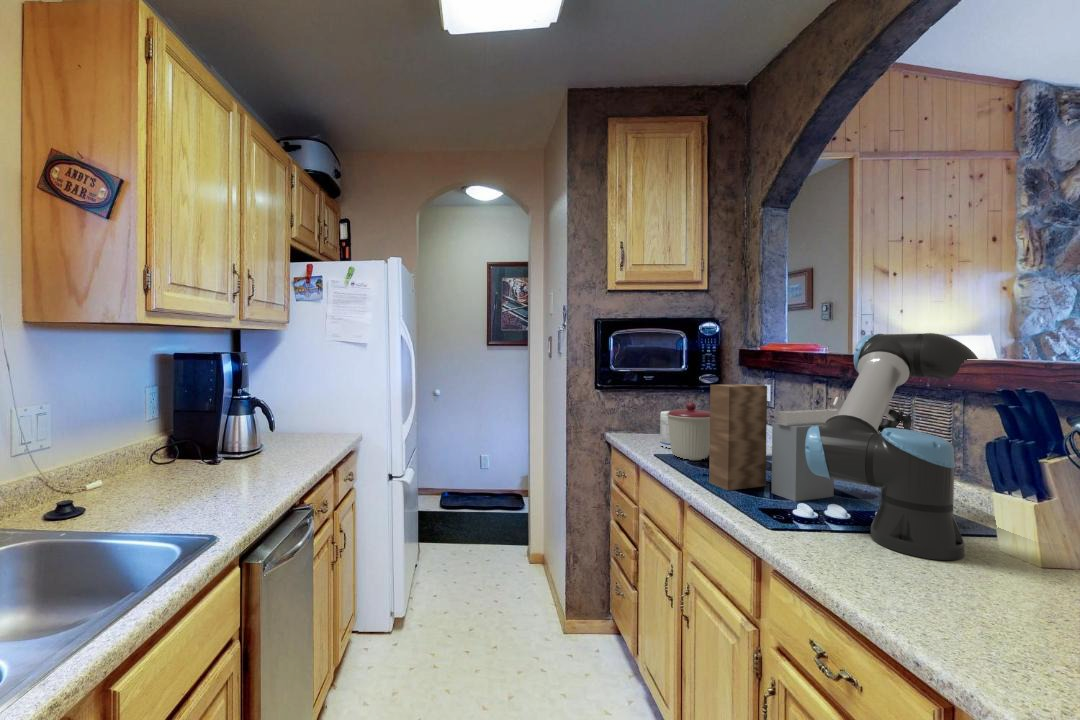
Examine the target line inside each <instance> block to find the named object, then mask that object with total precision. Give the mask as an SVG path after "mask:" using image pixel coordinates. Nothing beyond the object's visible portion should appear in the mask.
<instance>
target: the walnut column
mask: <svg viewBox="0 0 1080 720" xmlns="http://www.w3.org/2000/svg"><path fill="white" fill-rule="evenodd" d="M709 387H710V388H709V389H710V390H709V391H710V394H709V396H710V397H709V399H710V400H709V412H710V454H709V456H708V457H709V468H708V470H709V471H708V472H709V473H708V474H709V475H708V476H709V477H708V479H709V481H708V483H709V484H710V483H711V484H710V485H713V486H716V487H719V488H720V489H723V490H726V491H734V490H742V489H751V488H752V489H753V488H761V487H766V486H767V483H766V482H767V476H766V475H767V427H768V426H767V423H768V417H767V415H768V413H767V412H768V411H767V410H768V386H767V385H763V384H761V385H759V384H750V383H741V384H740V383H739V384H738V383H737V384H736V383H735V384H732V383H730V384H710V385H709Z"/></svg>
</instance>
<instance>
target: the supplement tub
mask: <svg viewBox="0 0 1080 720" xmlns="http://www.w3.org/2000/svg"><path fill="white" fill-rule="evenodd" d="M670 411H671V410H664V411H663V410H662V411H660V416H659V418H660V419H659V420H660V421H659V422H660V425H659V426H660V427H659V428H660V429H659V431H660V433H659V437H660V438H659V439H660V440H659V442H660V443H662V444H664V445H670V446H671V443H670V434H669V424H668V416H667V415H666V413H669V412H670ZM660 443H659V444H660Z"/></svg>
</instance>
